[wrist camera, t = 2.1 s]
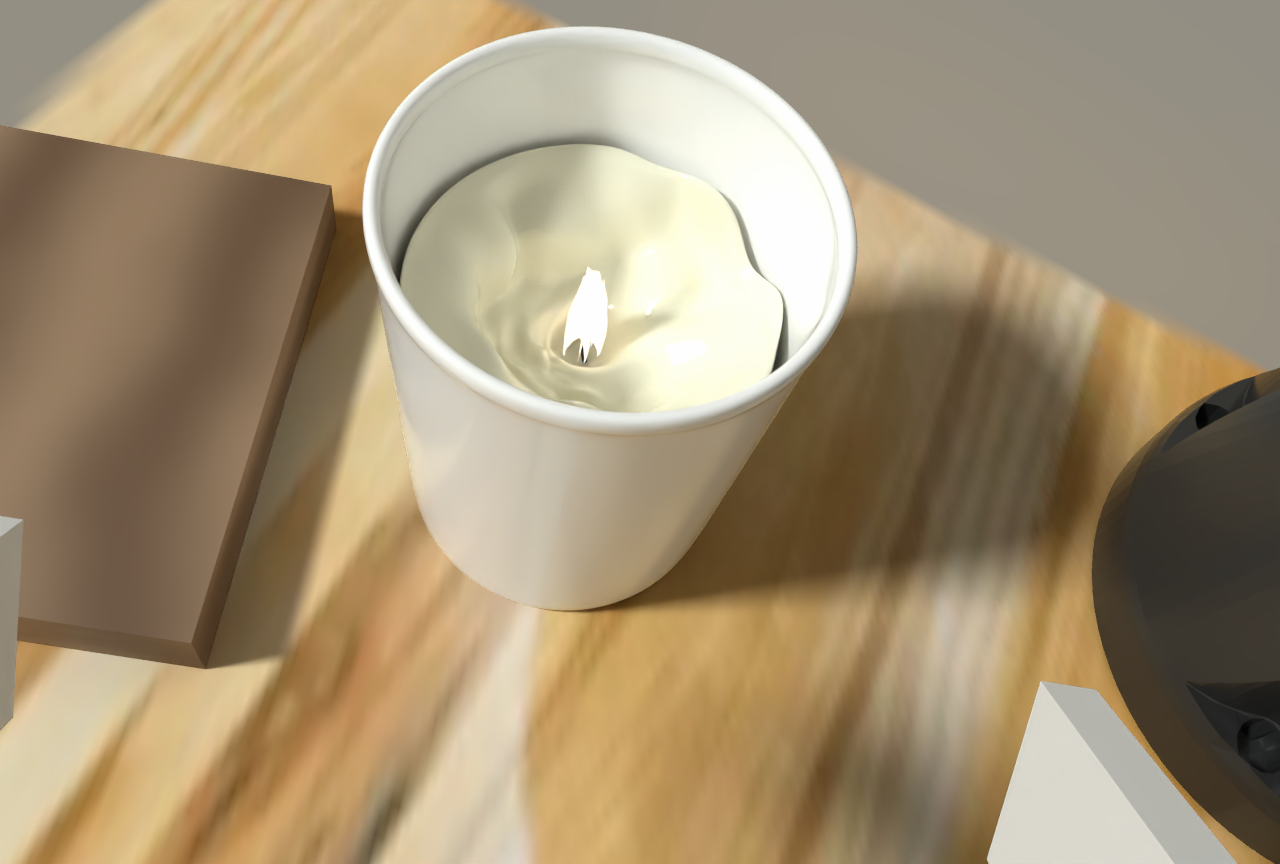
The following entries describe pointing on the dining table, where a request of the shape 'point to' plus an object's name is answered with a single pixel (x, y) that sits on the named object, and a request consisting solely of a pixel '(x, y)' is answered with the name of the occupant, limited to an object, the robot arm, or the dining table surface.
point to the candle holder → (595, 298)
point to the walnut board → (142, 380)
